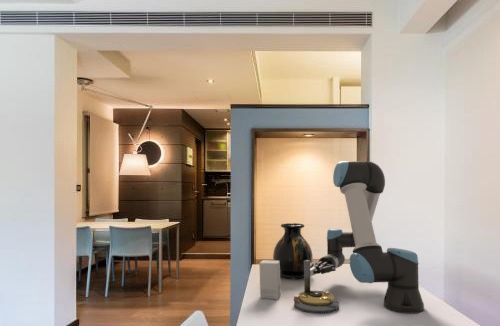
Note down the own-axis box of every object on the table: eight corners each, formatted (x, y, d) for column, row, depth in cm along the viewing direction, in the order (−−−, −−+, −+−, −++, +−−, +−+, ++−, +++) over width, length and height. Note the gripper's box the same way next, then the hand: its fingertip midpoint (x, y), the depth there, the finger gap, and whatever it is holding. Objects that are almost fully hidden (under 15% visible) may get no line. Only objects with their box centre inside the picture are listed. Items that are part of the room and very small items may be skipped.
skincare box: (280, 295, 167) (280, 260, 168) (278, 300, 161) (277, 263, 162) (262, 294, 169) (262, 259, 170) (259, 298, 163) (259, 262, 164)
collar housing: (348, 308, 150) (348, 295, 150) (314, 316, 140) (314, 302, 141) (317, 296, 165) (317, 284, 166) (284, 303, 156) (284, 290, 156)
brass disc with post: (340, 302, 150) (340, 264, 151) (313, 307, 144) (312, 268, 144) (318, 293, 163) (318, 258, 164) (291, 297, 156) (291, 261, 157)
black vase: (304, 283, 188) (303, 227, 189) (266, 278, 198) (266, 225, 200) (318, 274, 206) (318, 223, 208) (283, 270, 217) (283, 221, 218)
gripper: (341, 273, 177) (323, 284, 157) (315, 269, 184) (295, 280, 164) (341, 257, 177) (323, 266, 157) (315, 254, 184) (295, 262, 164)
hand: (308, 273), depth 161 cm, fingers closed
